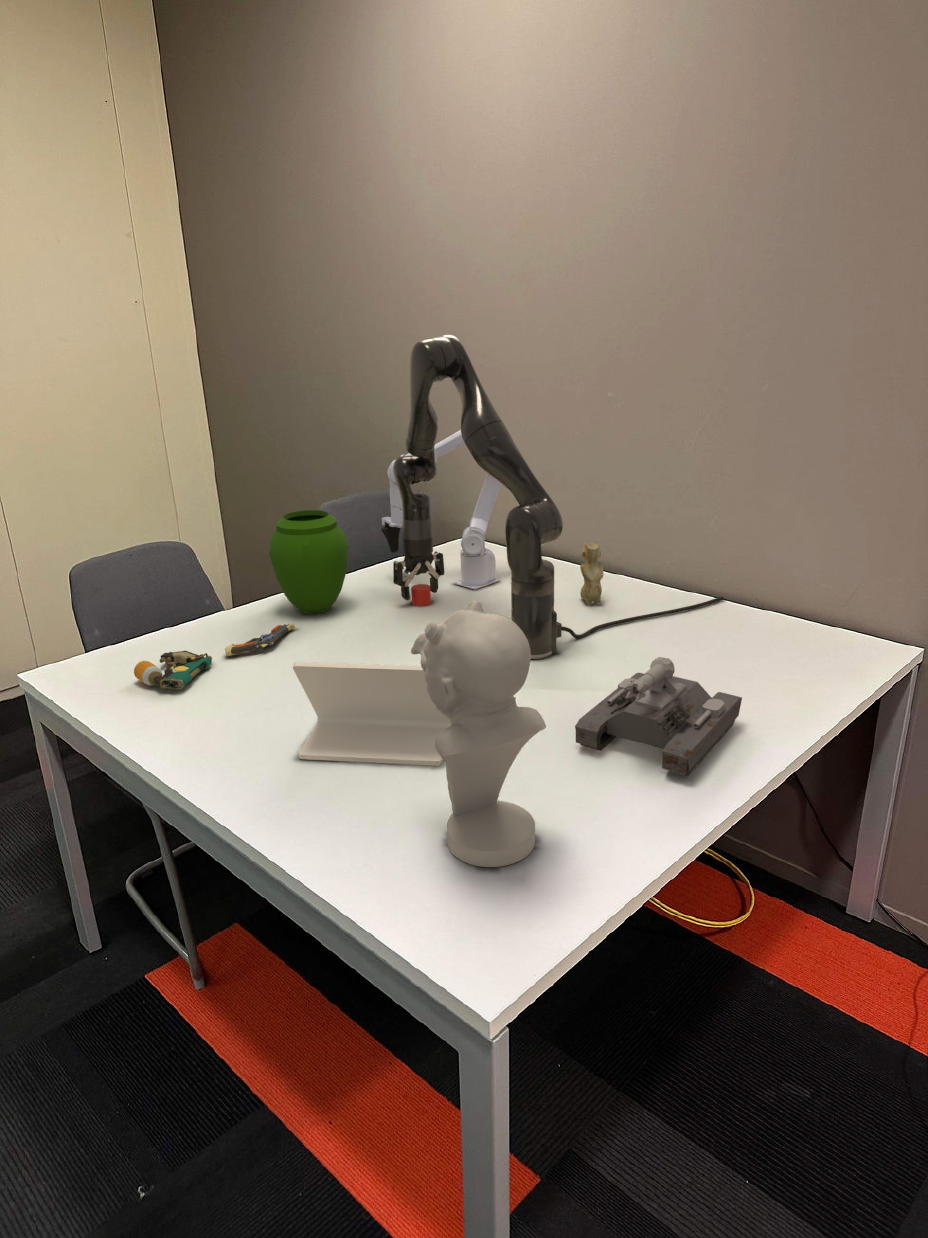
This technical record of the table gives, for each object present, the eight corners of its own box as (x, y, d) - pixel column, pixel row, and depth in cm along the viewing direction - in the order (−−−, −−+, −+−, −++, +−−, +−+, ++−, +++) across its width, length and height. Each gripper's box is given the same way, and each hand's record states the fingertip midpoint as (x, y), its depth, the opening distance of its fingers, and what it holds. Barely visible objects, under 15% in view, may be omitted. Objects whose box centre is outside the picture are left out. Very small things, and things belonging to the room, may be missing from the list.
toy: (637, 695, 165) (641, 623, 160) (740, 721, 154) (747, 645, 149) (574, 750, 146) (575, 670, 141) (685, 784, 135) (691, 699, 130)
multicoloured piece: (177, 659, 191) (231, 671, 185) (120, 684, 176) (176, 698, 171) (176, 641, 190) (230, 653, 184) (118, 665, 175) (174, 678, 169)
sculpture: (599, 596, 220) (601, 540, 215) (605, 605, 214) (607, 548, 208) (577, 597, 220) (578, 541, 215) (582, 606, 213) (583, 549, 208)
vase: (368, 603, 220) (362, 511, 212) (318, 627, 205) (308, 529, 196) (311, 592, 230) (303, 503, 222) (259, 614, 215) (248, 520, 206)
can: (418, 607, 217) (417, 591, 215) (408, 602, 221) (407, 586, 219) (434, 603, 220) (434, 587, 218) (424, 598, 223) (423, 582, 222)
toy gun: (221, 647, 188) (262, 644, 186) (256, 622, 206) (295, 619, 204) (223, 659, 189) (265, 656, 187) (258, 633, 207) (297, 630, 205)
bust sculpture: (481, 772, 140) (476, 569, 128) (565, 848, 120) (569, 617, 108) (392, 800, 134) (378, 588, 121) (465, 886, 114) (457, 642, 101)
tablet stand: (441, 765, 143) (437, 672, 137) (297, 759, 146) (287, 668, 140) (456, 716, 160) (453, 631, 154) (327, 711, 163) (319, 628, 157)
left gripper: (372, 504, 229) (375, 552, 233) (408, 511, 219) (411, 562, 224) (391, 499, 233) (394, 547, 238) (428, 506, 224) (430, 556, 229)
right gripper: (431, 527, 221) (434, 586, 226) (385, 537, 213) (388, 598, 218) (449, 532, 215) (451, 593, 221) (402, 543, 207) (405, 605, 213)
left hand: (403, 554), depth 231 cm, fingers open, 7 cm apart
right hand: (420, 595), depth 220 cm, fingers open, 8 cm apart
